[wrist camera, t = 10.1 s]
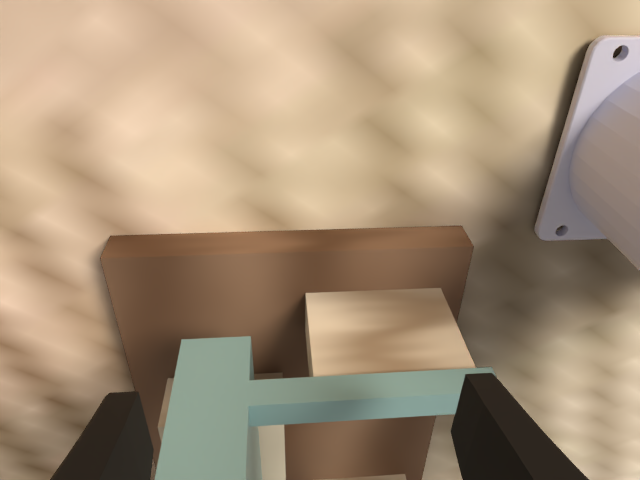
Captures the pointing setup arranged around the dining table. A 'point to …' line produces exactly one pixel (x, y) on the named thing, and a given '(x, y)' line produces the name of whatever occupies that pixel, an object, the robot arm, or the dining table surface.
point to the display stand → (299, 327)
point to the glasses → (275, 406)
